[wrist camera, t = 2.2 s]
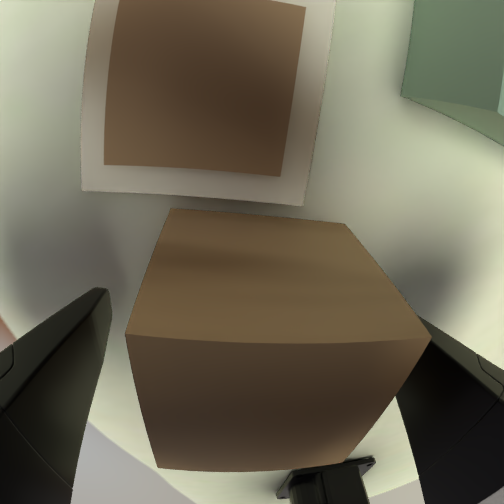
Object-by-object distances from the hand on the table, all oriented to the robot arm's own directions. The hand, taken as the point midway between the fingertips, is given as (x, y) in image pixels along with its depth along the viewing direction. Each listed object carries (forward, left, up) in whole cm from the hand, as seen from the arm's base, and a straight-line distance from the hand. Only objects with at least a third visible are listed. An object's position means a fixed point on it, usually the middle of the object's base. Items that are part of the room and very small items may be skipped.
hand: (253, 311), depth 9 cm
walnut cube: (0, 0, -1) cm, 1 cm away
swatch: (+6, +2, -1) cm, 6 cm away
